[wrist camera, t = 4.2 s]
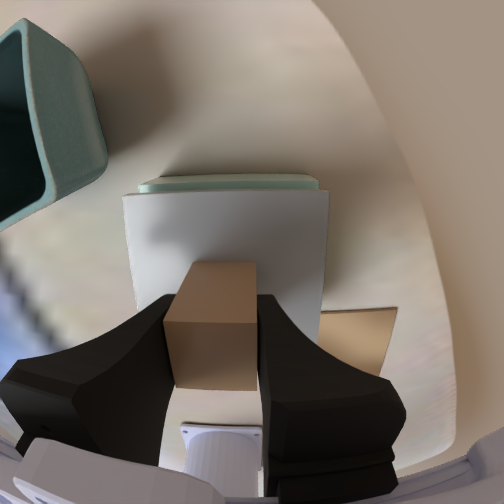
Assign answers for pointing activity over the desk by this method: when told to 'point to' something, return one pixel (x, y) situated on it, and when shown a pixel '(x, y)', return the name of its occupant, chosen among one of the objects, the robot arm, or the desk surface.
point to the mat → (357, 336)
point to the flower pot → (44, 123)
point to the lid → (226, 272)
